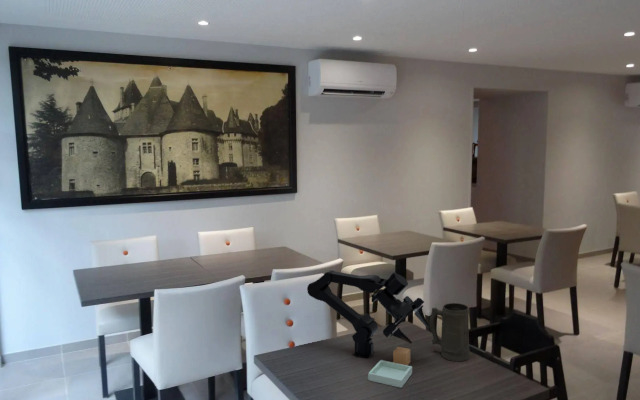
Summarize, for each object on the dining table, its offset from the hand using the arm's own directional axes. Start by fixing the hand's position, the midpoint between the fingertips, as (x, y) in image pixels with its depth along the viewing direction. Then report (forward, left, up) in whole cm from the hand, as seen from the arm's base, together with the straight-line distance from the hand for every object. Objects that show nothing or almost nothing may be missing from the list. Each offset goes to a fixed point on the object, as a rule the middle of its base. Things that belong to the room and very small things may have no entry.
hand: (420, 335), depth 175 cm
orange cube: (-7, 0, -12) cm, 14 cm away
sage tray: (-7, -13, -12) cm, 19 cm away
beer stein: (+7, +15, -12) cm, 20 cm away
